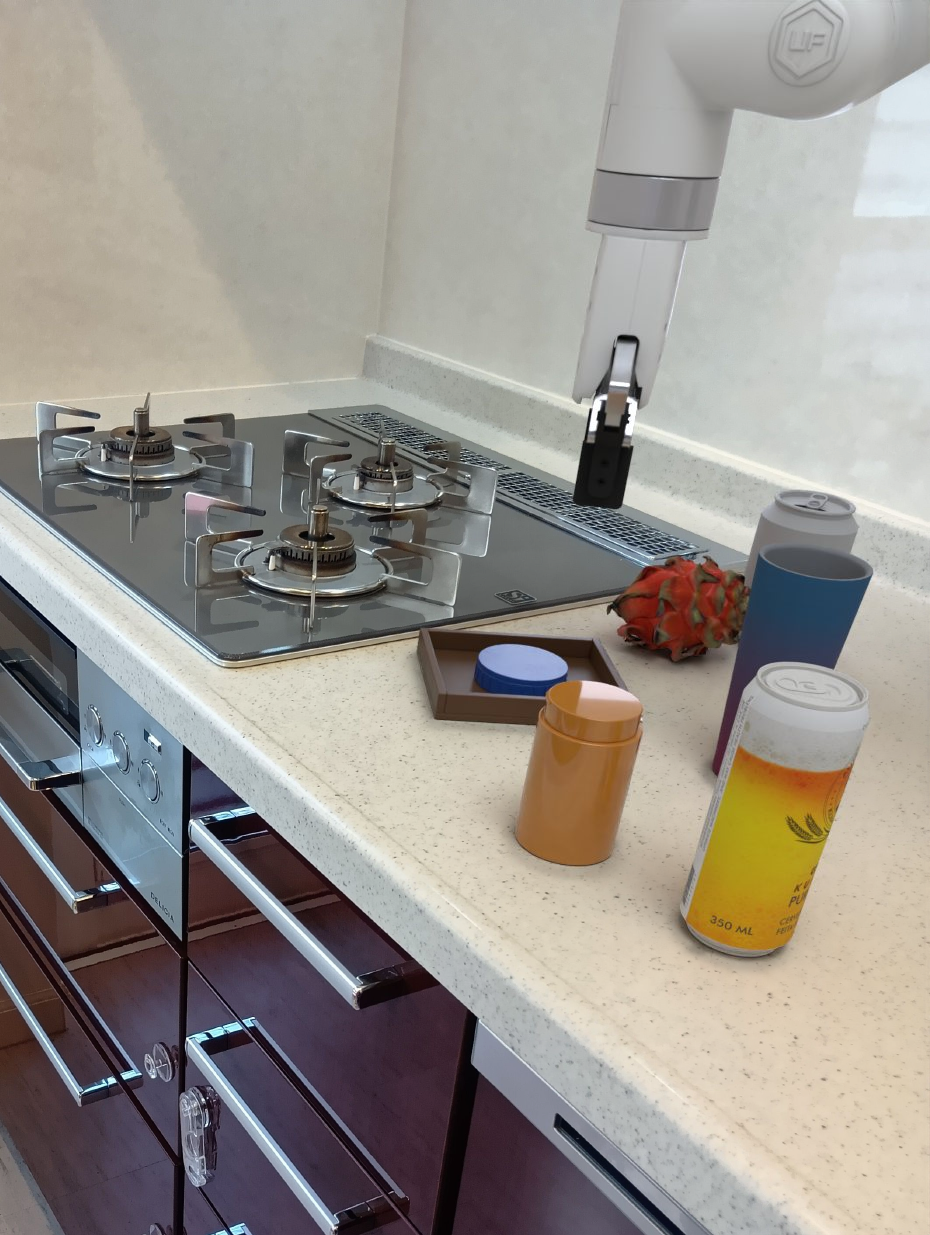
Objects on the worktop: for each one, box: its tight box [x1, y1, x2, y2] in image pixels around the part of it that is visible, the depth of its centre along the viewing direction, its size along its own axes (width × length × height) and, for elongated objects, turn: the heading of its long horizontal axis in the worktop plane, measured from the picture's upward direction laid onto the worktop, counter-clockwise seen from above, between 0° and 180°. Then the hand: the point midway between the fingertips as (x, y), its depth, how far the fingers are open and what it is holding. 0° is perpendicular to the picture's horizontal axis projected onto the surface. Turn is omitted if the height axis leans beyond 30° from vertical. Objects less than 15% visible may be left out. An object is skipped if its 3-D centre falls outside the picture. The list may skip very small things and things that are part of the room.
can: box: [737, 488, 860, 639], centre depth 107 cm, size 8×8×12 cm
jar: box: [514, 681, 644, 866], centre depth 77 cm, size 6×6×9 cm
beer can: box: [679, 662, 871, 958], centre depth 69 cm, size 6×6×15 cm
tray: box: [416, 627, 630, 726], centre depth 98 cm, size 14×12×2 cm
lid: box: [474, 644, 568, 697], centre depth 98 cm, size 7×7×2 cm
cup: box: [711, 542, 874, 776], centre depth 85 cm, size 7×7×15 cm
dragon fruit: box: [606, 554, 751, 662], centre depth 105 cm, size 8×8×12 cm
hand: (599, 486), depth 90 cm, fingers open, 9 cm apart
